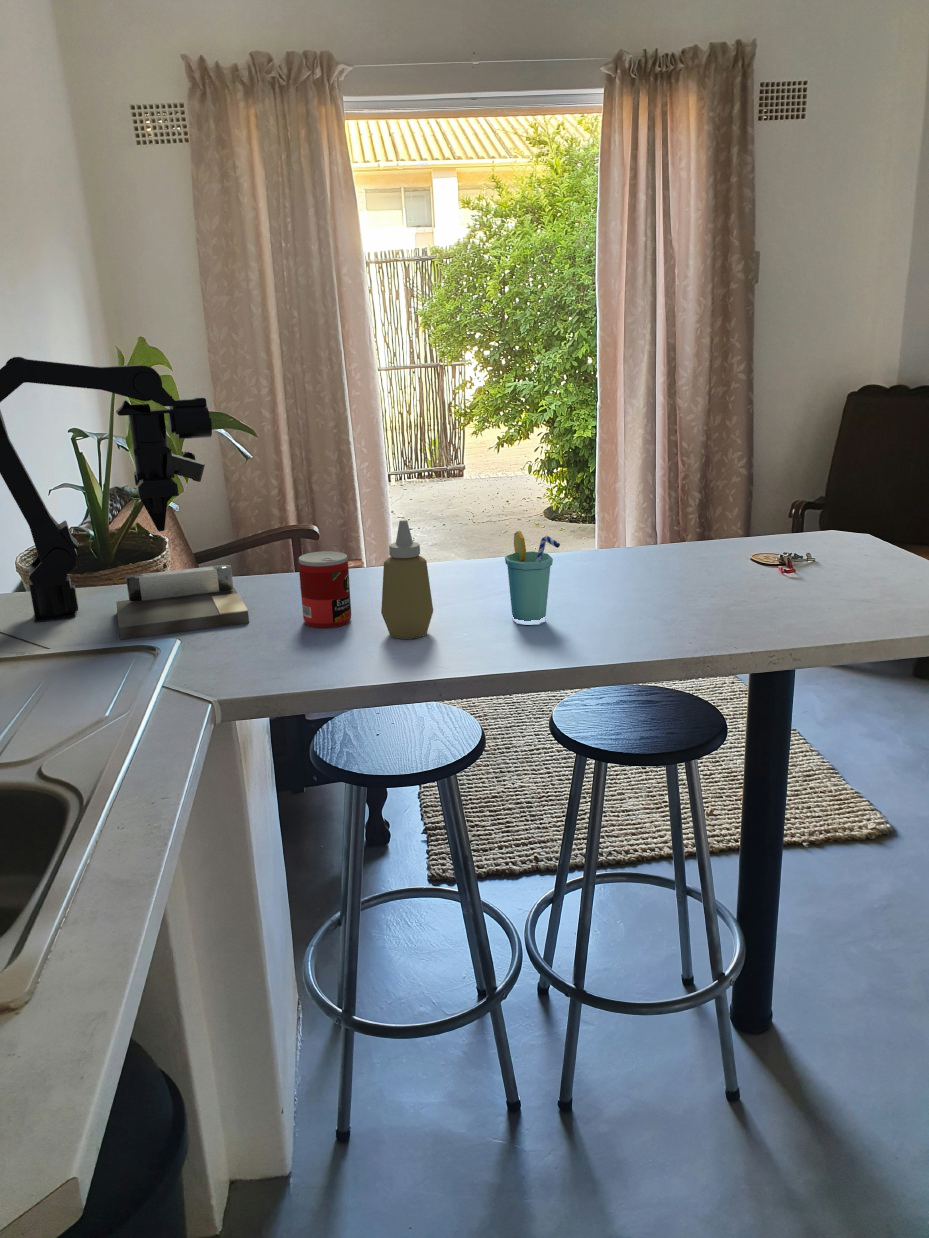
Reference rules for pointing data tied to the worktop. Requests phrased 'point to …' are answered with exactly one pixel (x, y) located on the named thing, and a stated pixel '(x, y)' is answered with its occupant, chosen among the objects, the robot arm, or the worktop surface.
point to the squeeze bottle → (406, 588)
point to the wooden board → (180, 613)
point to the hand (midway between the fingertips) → (161, 530)
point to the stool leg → (179, 582)
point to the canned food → (325, 589)
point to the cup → (529, 579)
